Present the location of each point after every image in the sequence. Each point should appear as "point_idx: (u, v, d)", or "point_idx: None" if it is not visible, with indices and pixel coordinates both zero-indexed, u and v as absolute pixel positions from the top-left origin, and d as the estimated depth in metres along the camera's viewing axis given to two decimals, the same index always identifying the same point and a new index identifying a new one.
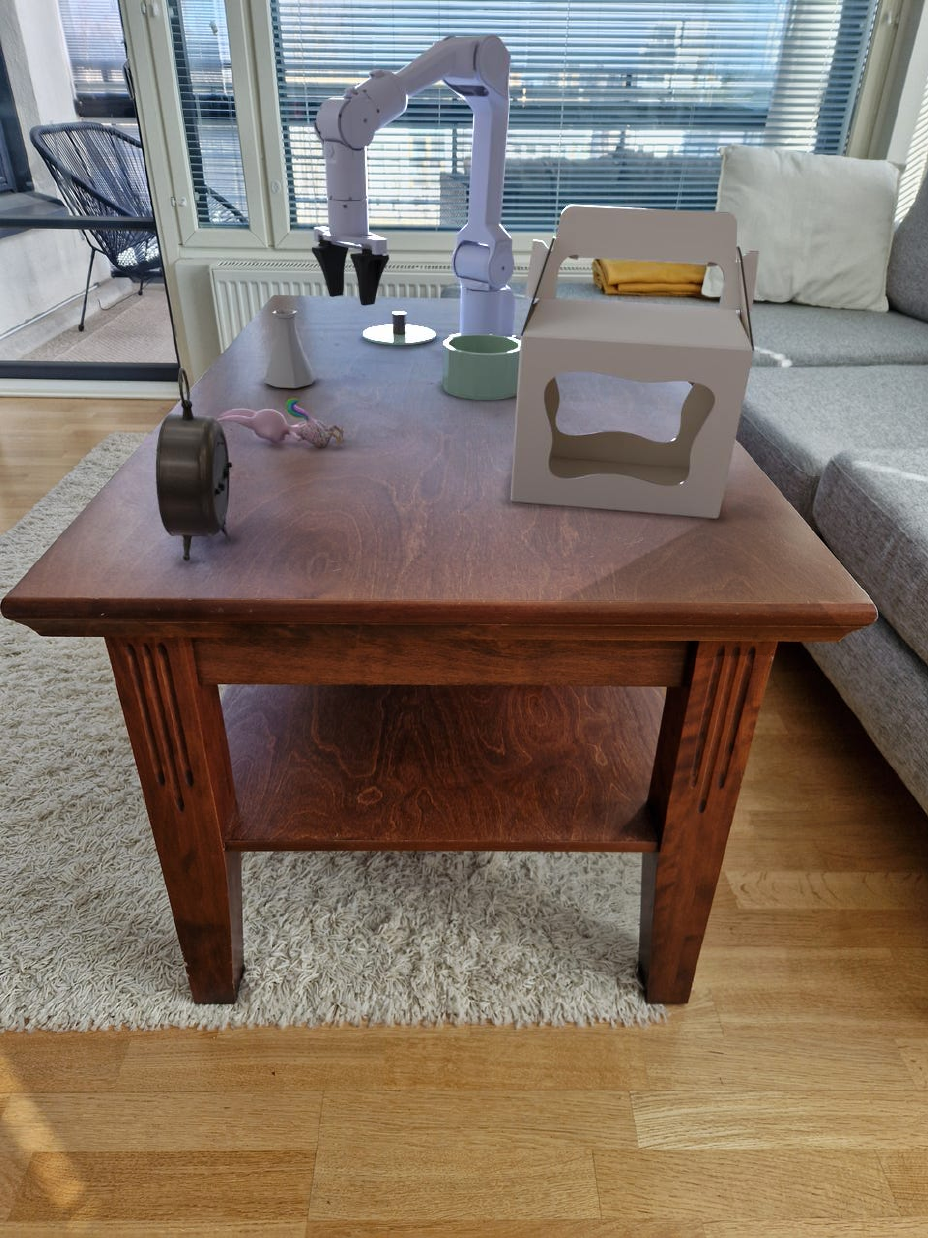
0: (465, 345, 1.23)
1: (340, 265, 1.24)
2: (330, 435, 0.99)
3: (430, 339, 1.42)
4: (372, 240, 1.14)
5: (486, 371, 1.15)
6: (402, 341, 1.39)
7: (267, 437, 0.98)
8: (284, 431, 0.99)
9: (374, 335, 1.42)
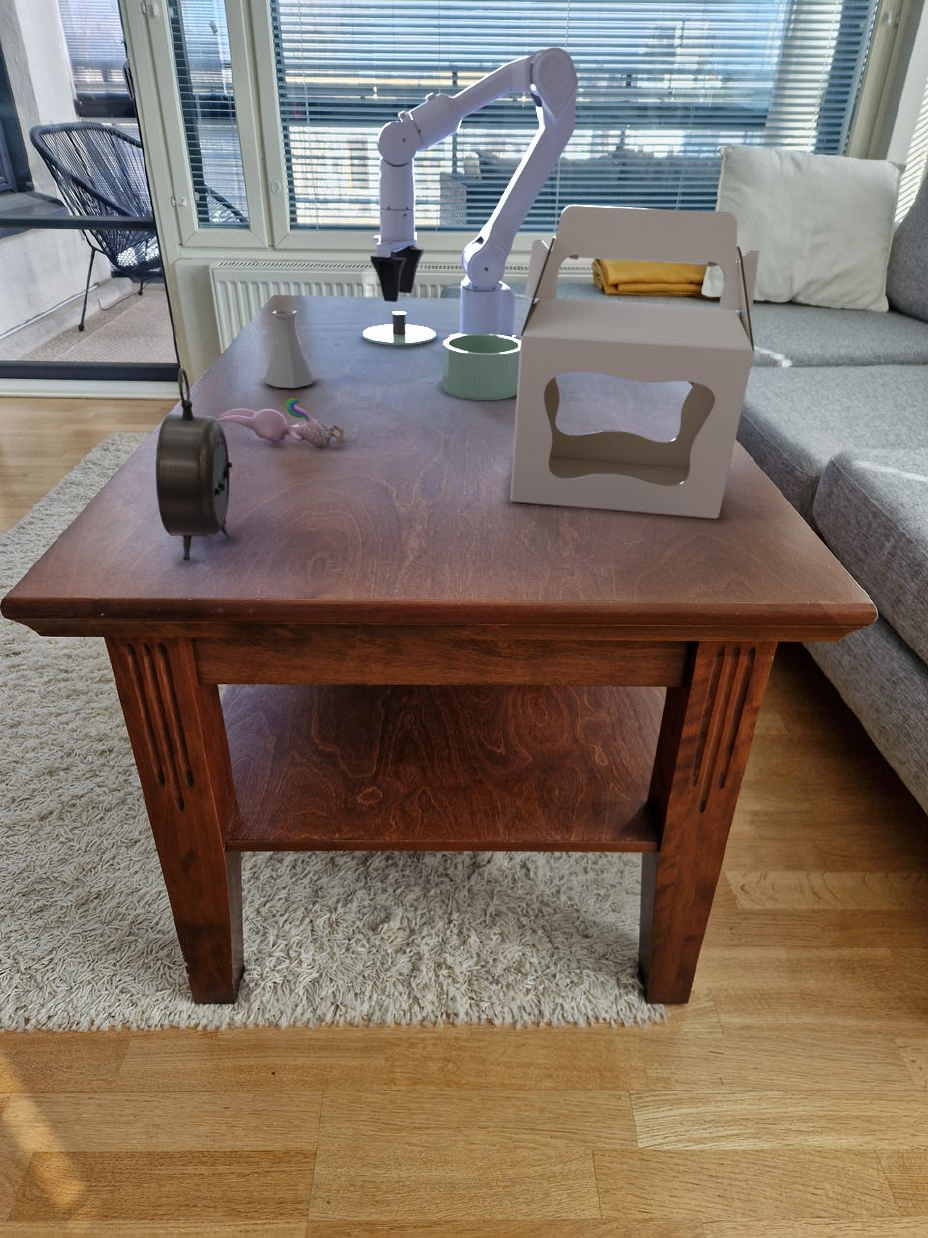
0: (465, 345, 1.23)
1: (410, 267, 1.41)
2: (331, 435, 0.99)
3: (430, 339, 1.42)
4: None
5: (486, 371, 1.15)
6: (402, 341, 1.39)
7: (267, 437, 0.98)
8: (284, 431, 0.99)
9: (374, 335, 1.42)
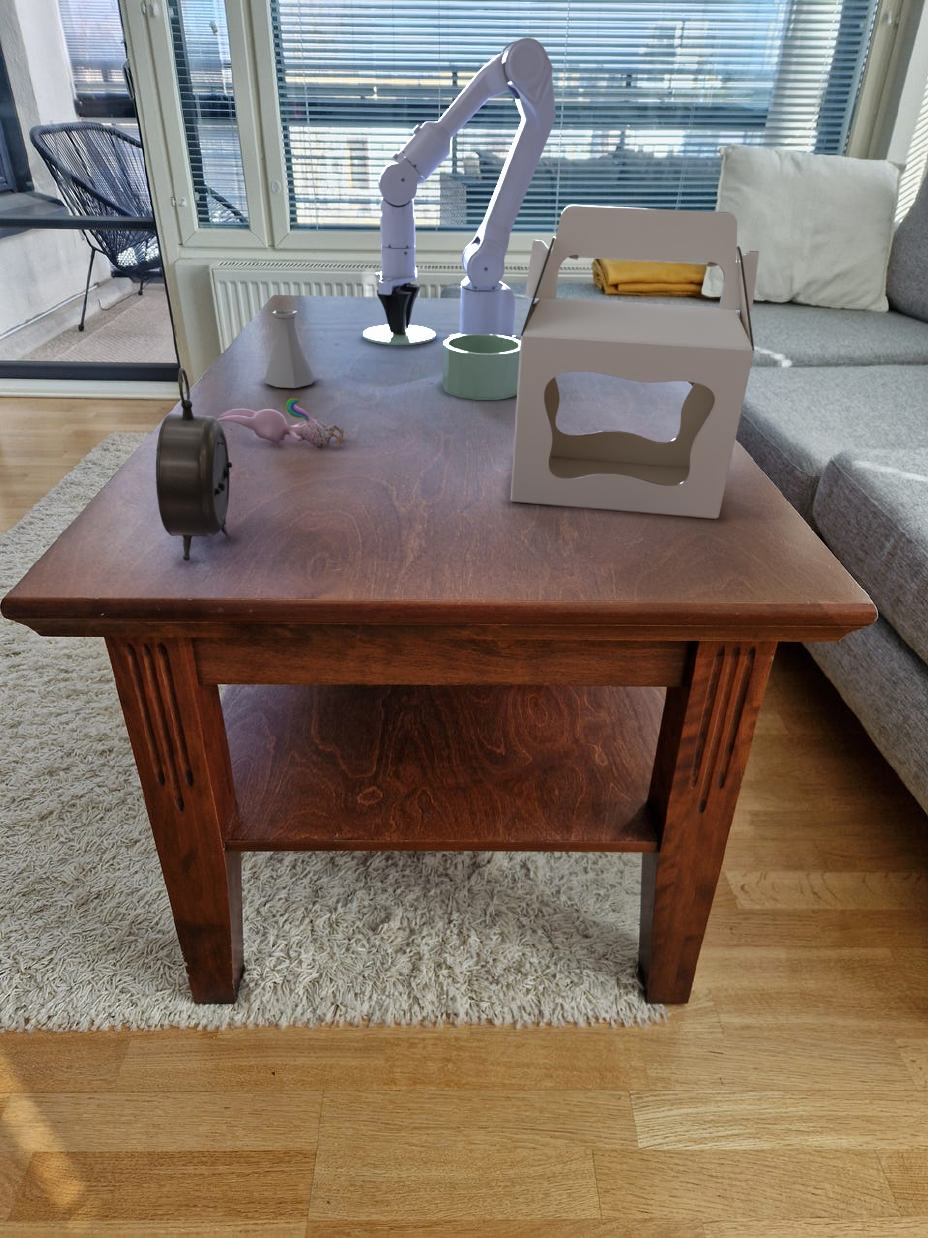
0: (465, 345, 1.23)
1: (406, 304, 1.42)
2: (330, 435, 0.99)
3: (430, 339, 1.42)
4: None
5: (486, 371, 1.15)
6: (402, 341, 1.39)
7: (267, 437, 0.98)
8: (284, 431, 0.99)
9: (374, 335, 1.42)
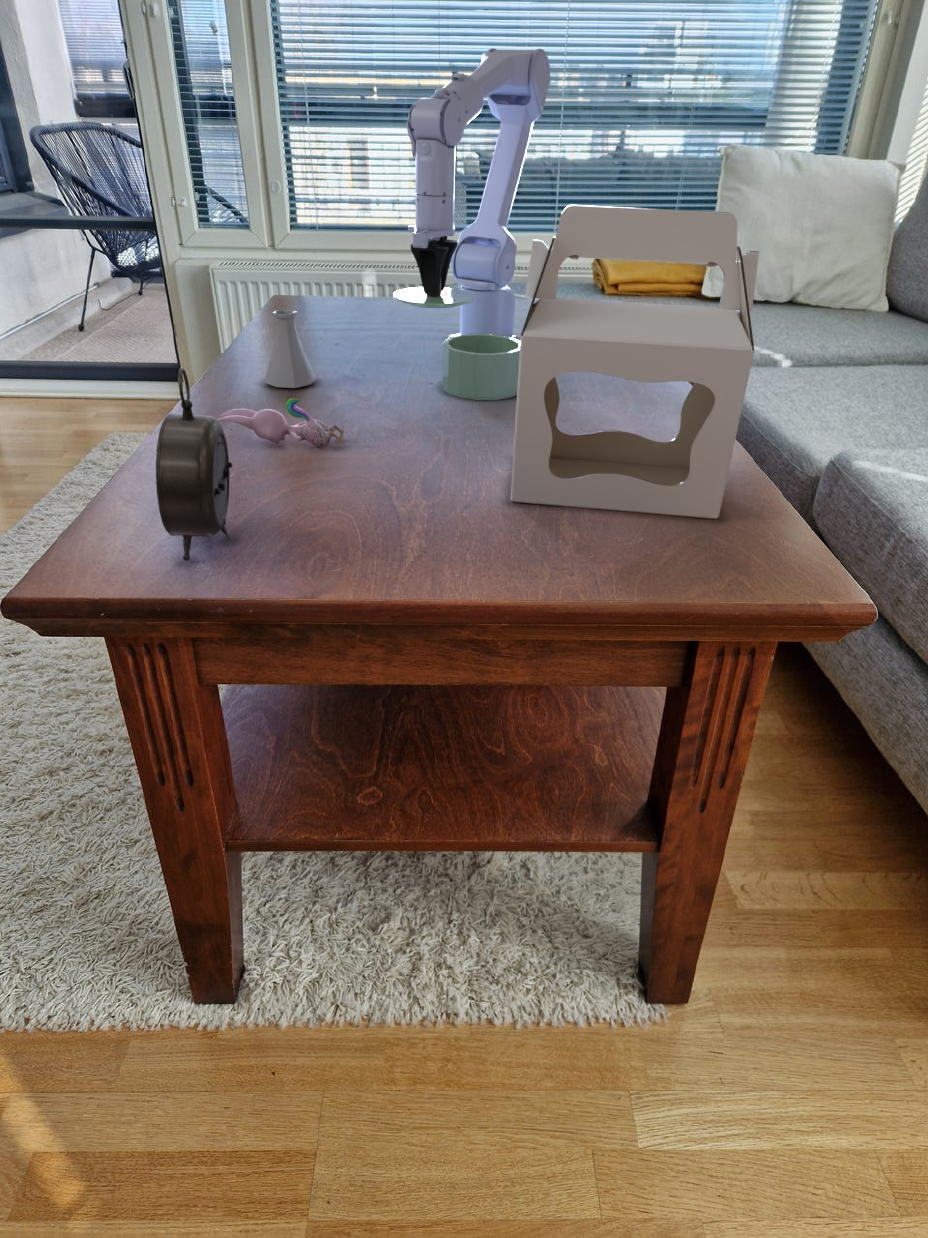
0: (465, 345, 1.23)
1: None
2: (331, 435, 0.99)
3: (468, 301, 1.26)
4: (414, 233, 1.18)
5: (486, 371, 1.15)
6: (438, 302, 1.24)
7: (267, 437, 0.98)
8: (284, 431, 0.99)
9: (406, 296, 1.27)
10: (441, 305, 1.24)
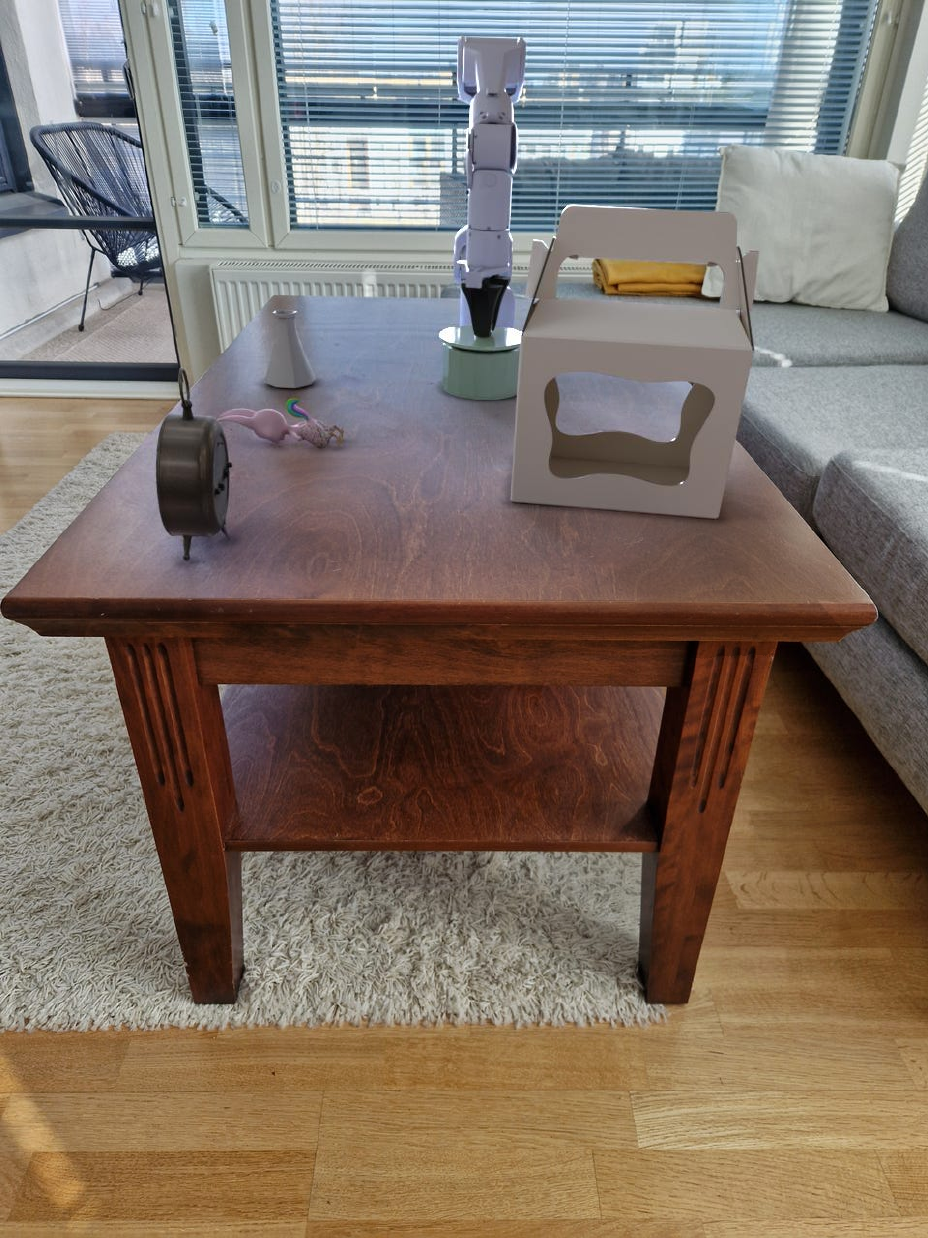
0: None
1: None
2: (331, 435, 0.99)
3: None
4: (467, 272, 1.08)
5: (486, 371, 1.15)
6: (490, 345, 1.13)
7: (267, 437, 0.98)
8: (284, 431, 0.99)
9: (454, 338, 1.16)
10: (494, 349, 1.13)
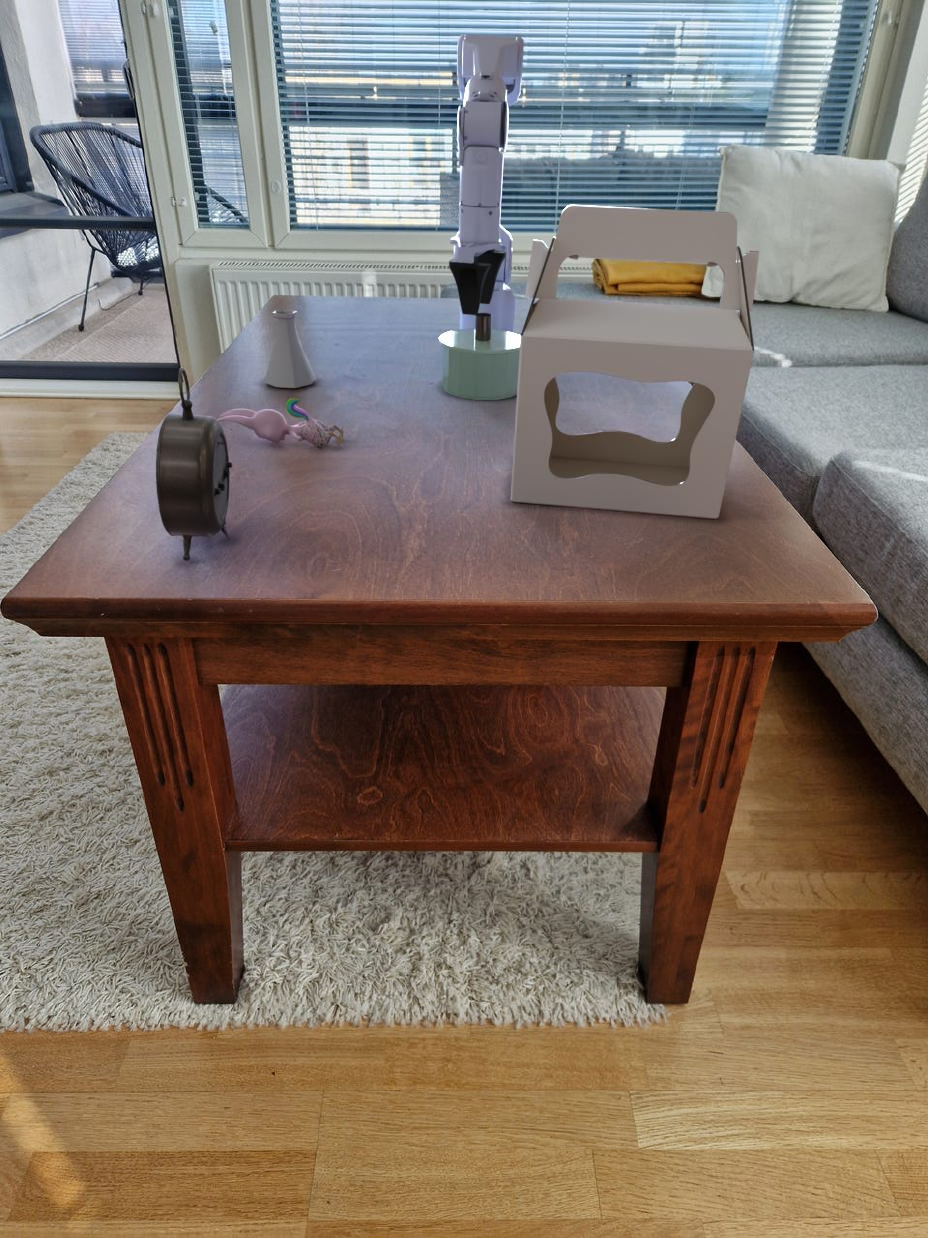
0: None
1: (490, 273, 1.20)
2: (331, 435, 0.99)
3: None
4: (459, 247, 1.10)
5: (486, 371, 1.15)
6: (489, 349, 1.14)
7: (267, 437, 0.98)
8: (284, 431, 0.99)
9: (453, 342, 1.17)
10: (493, 352, 1.14)
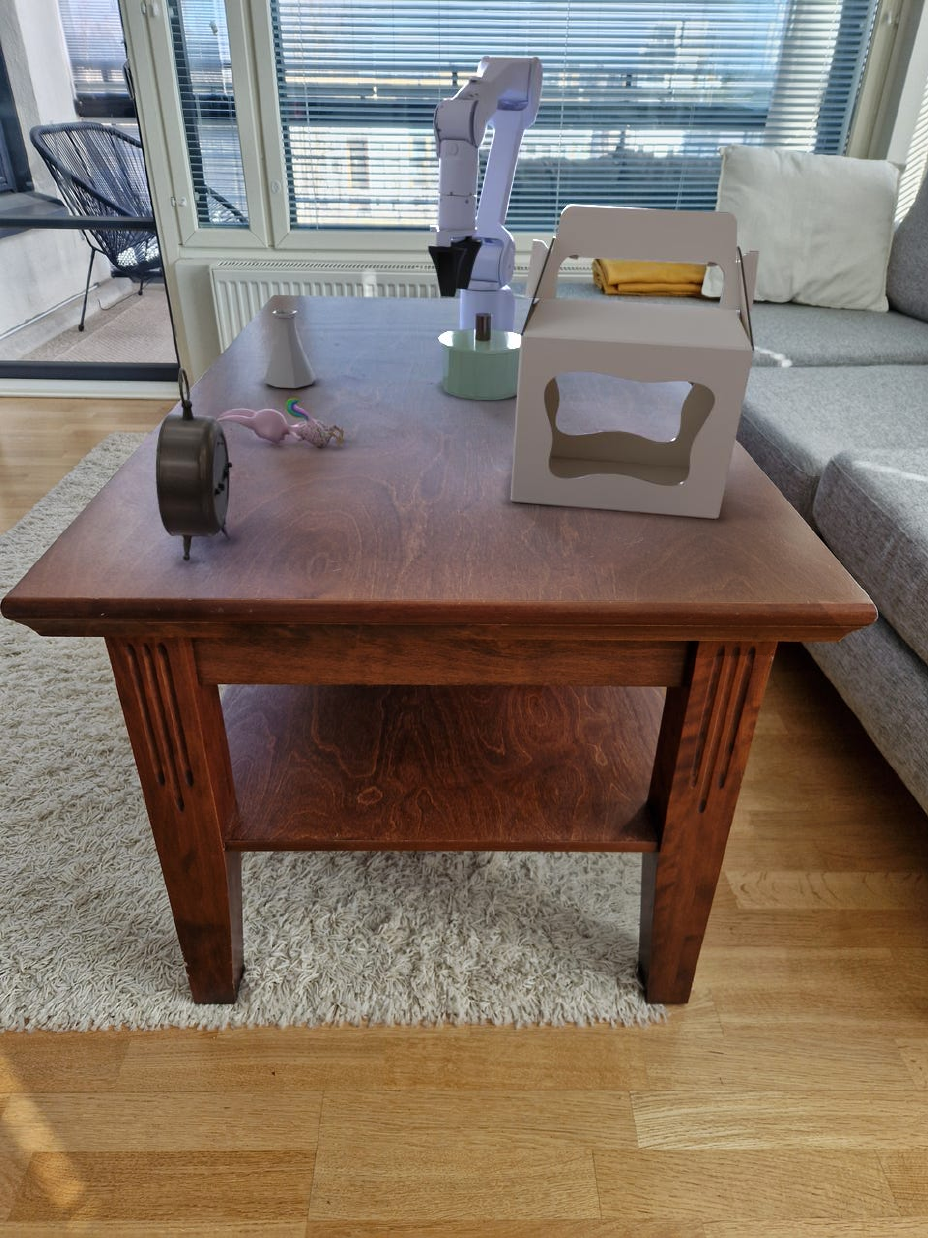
0: None
1: (467, 260, 1.29)
2: (331, 435, 0.99)
3: None
4: (437, 232, 1.19)
5: (486, 371, 1.15)
6: (489, 349, 1.14)
7: (267, 437, 0.98)
8: (284, 431, 0.99)
9: (453, 342, 1.17)
10: (493, 352, 1.14)
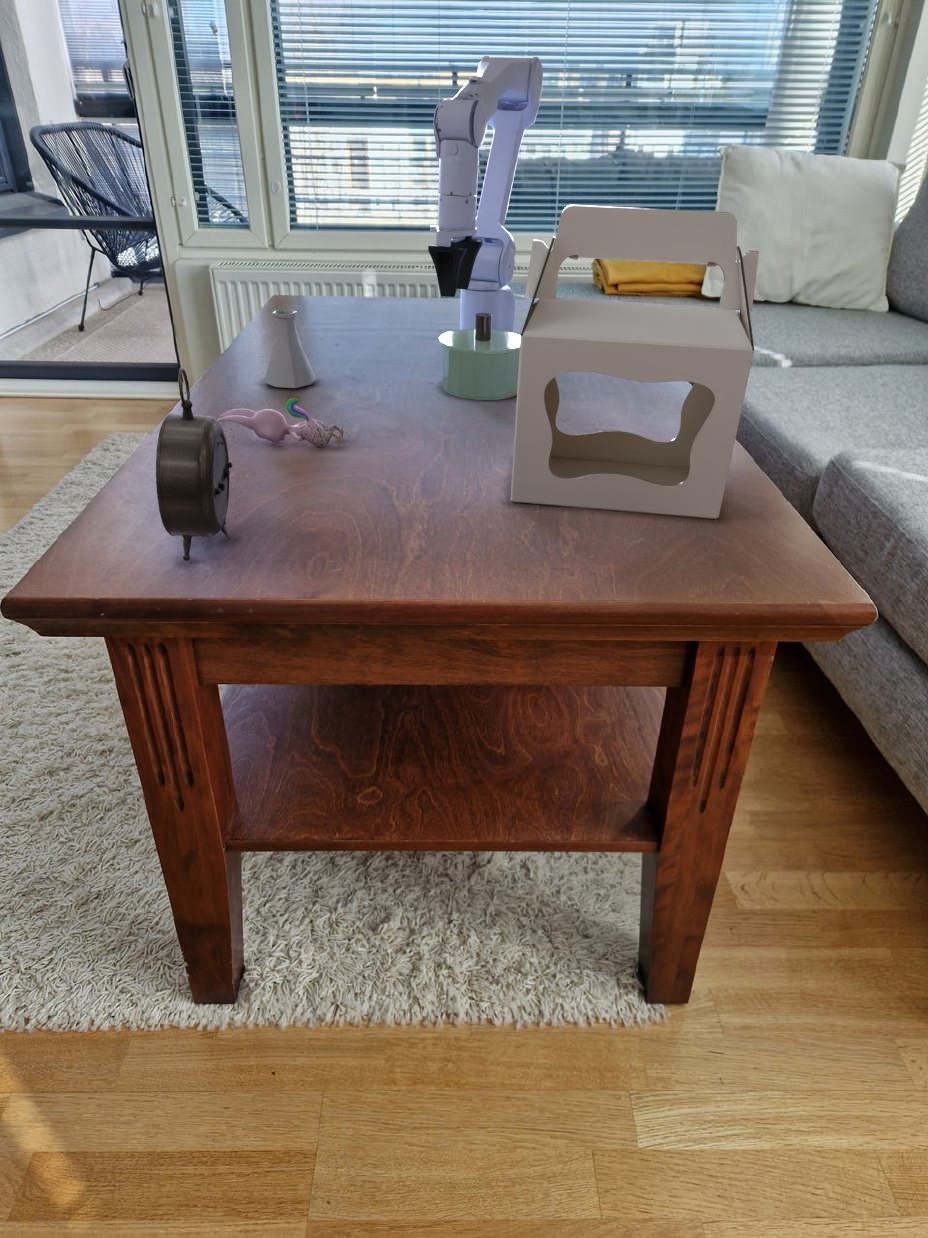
0: None
1: (467, 260, 1.29)
2: (331, 435, 0.99)
3: None
4: (437, 232, 1.19)
5: (486, 371, 1.15)
6: (489, 349, 1.14)
7: (267, 437, 0.98)
8: (284, 431, 0.99)
9: (453, 342, 1.17)
10: (493, 352, 1.14)
